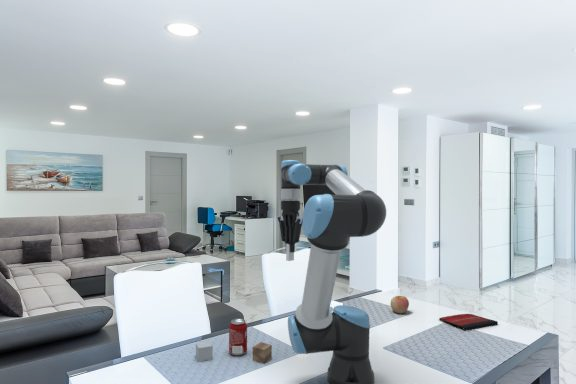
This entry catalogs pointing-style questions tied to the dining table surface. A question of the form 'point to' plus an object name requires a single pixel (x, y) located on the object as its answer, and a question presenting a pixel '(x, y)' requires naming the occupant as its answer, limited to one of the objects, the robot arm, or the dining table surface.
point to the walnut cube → (262, 352)
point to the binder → (468, 321)
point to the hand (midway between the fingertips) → (290, 260)
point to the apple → (399, 304)
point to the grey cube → (204, 351)
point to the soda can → (238, 337)
